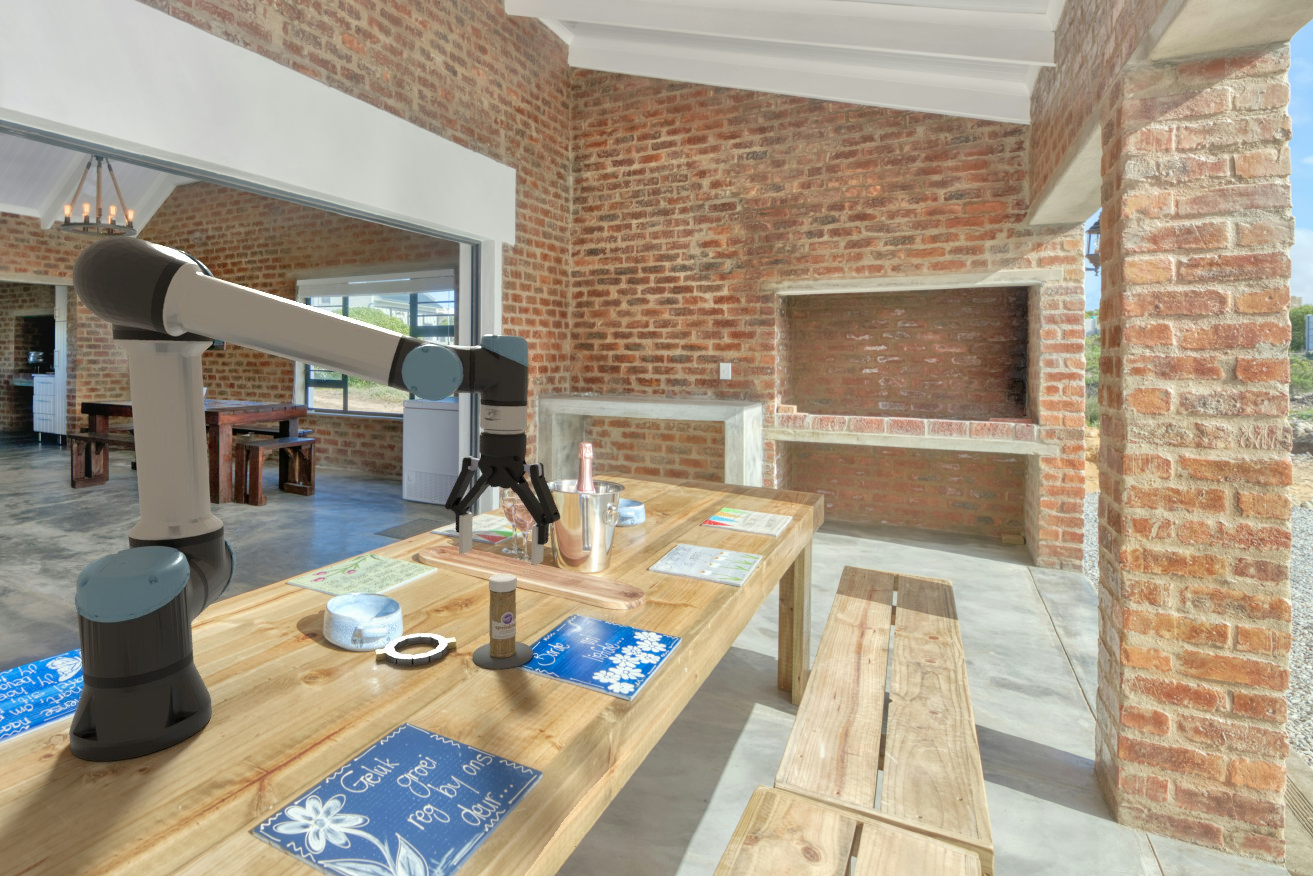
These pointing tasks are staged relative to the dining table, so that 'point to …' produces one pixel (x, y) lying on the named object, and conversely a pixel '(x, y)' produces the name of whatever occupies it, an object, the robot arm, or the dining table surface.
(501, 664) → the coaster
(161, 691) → the robot arm
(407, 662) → the collar
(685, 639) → the dining table surface
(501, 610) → the sprinkles bottle
